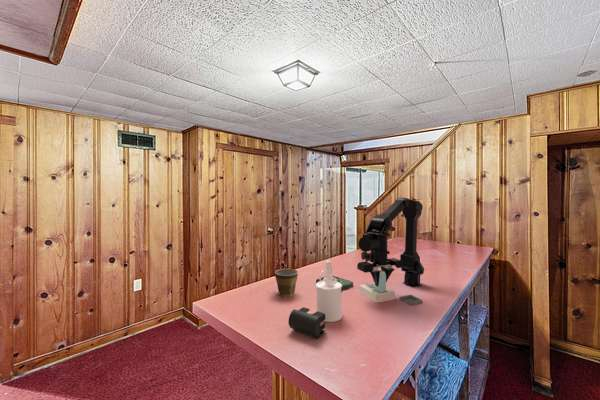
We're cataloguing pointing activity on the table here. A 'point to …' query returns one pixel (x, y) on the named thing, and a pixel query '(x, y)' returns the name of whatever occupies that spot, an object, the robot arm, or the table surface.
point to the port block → (376, 293)
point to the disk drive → (345, 283)
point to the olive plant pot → (286, 281)
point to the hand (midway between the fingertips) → (380, 285)
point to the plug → (381, 282)
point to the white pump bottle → (329, 296)
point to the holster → (410, 299)
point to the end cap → (307, 322)
